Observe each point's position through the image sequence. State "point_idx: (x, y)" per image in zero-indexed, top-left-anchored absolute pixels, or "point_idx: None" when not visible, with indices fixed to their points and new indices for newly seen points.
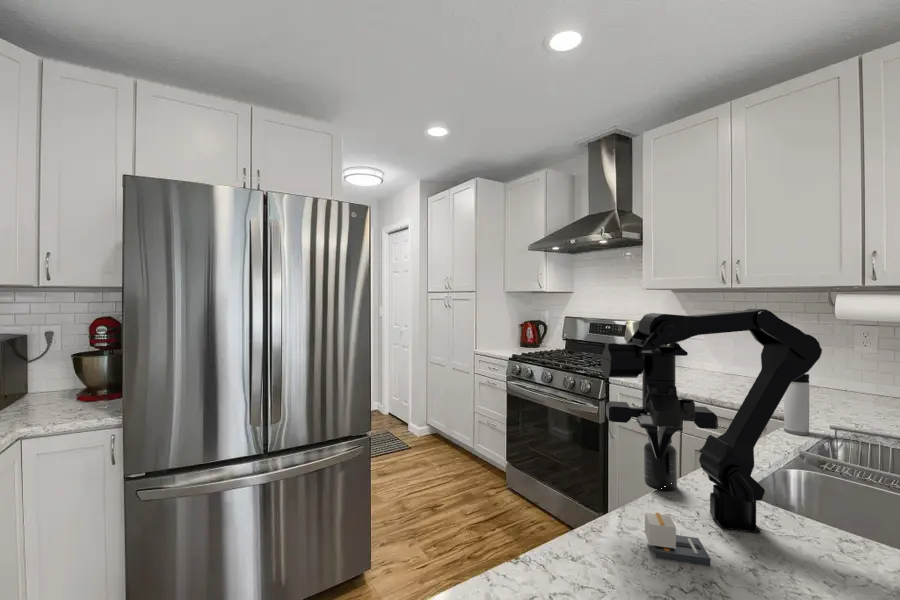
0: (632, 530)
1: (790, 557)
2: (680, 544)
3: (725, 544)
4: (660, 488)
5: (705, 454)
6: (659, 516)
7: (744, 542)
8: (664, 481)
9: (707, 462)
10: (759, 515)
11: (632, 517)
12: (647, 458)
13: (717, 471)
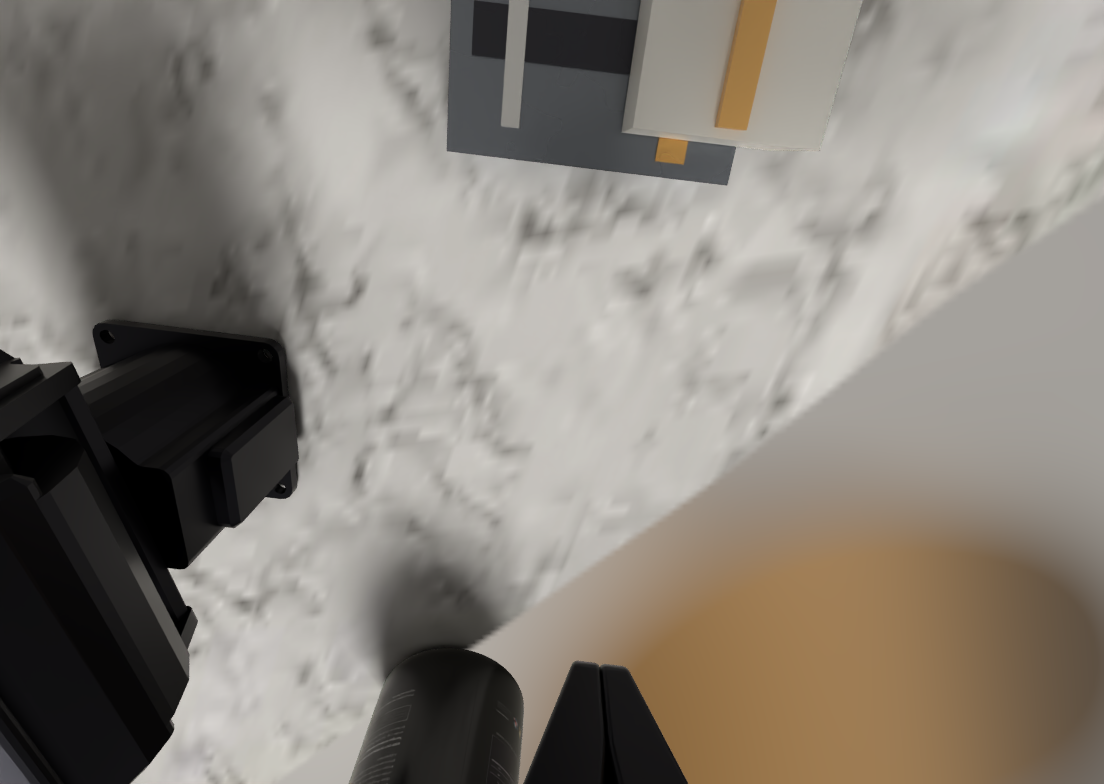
0: (775, 258)
1: (6, 98)
2: (589, 35)
3: (306, 183)
4: (470, 657)
5: (30, 772)
6: (746, 54)
7: (203, 221)
8: (444, 687)
9: (81, 680)
10: None
11: (714, 396)
12: None
13: (12, 518)
